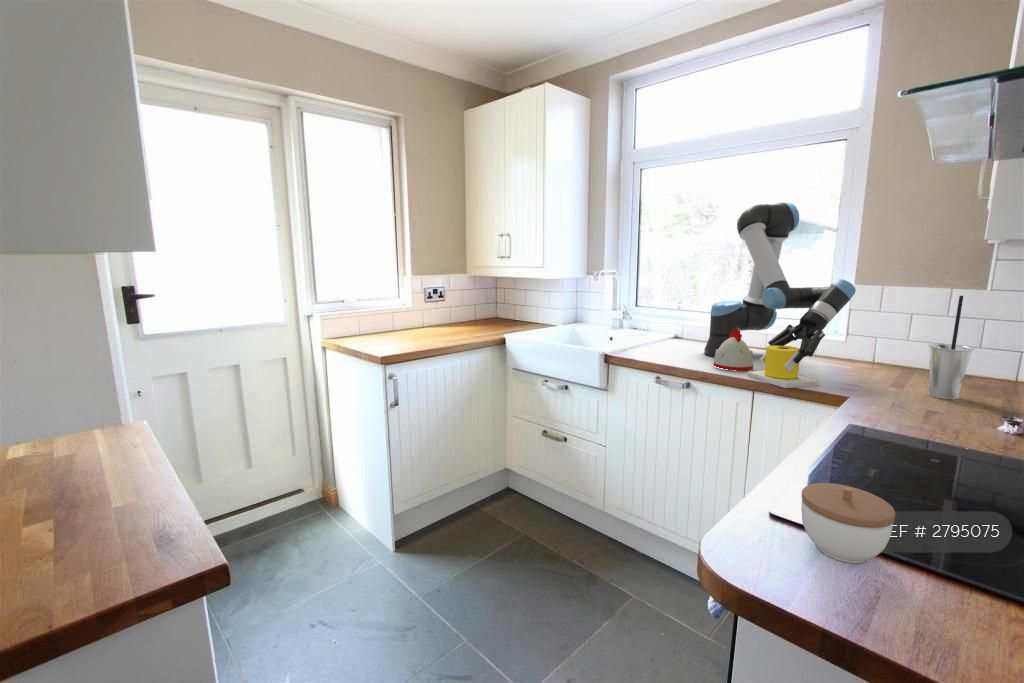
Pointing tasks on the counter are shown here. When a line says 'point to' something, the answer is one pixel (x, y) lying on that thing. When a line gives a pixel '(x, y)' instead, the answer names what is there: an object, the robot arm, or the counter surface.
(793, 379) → the marked board
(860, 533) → the lidded jar
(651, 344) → the counter surface
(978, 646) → the counter surface
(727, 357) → the kitchen timer
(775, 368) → the tape roll
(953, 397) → the cup with straw
